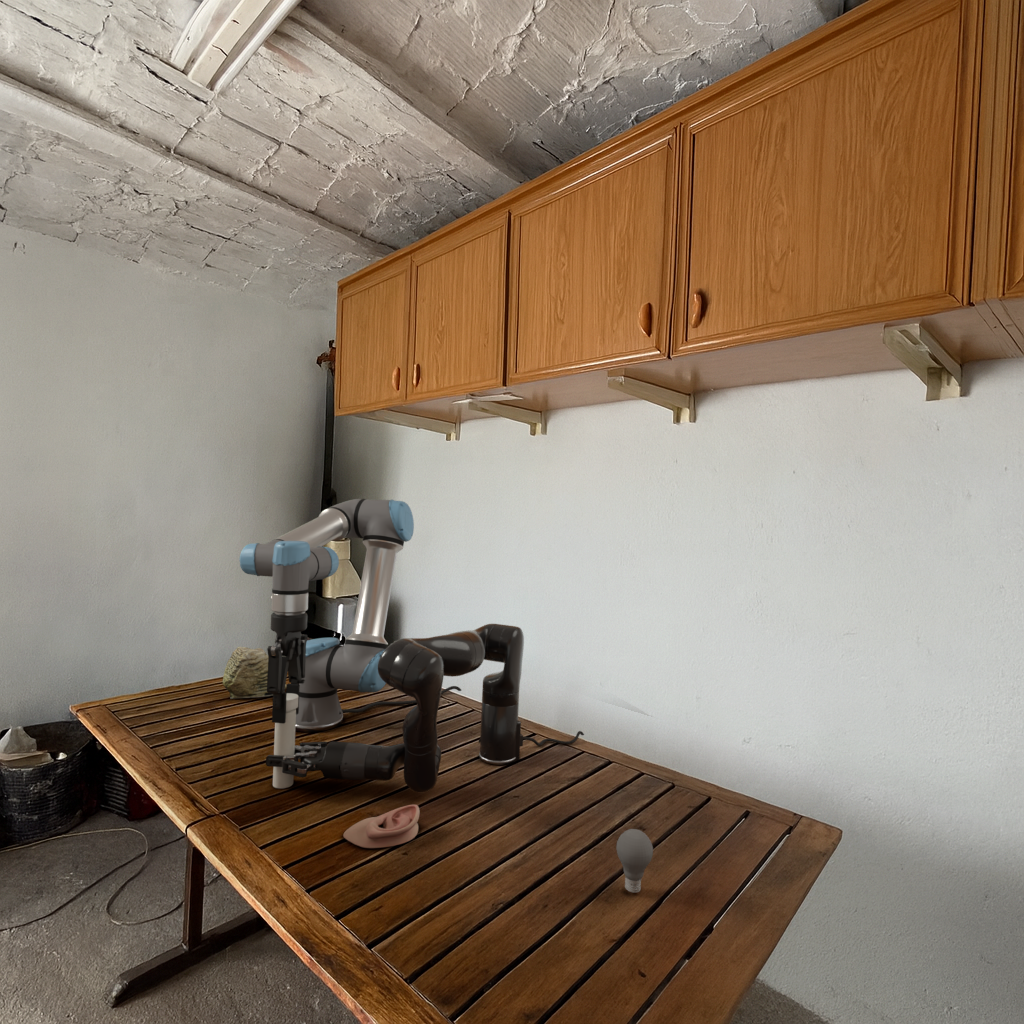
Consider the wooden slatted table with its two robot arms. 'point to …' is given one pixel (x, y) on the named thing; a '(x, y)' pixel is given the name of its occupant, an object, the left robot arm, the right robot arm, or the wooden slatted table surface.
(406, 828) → the anatomical model
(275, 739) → the off-white cylindrical rod
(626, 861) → the light bulb
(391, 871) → the wooden slatted table surface
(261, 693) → the fossil
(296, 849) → the wooden slatted table surface
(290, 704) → the lid
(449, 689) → the left robot arm
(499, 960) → the wooden slatted table surface
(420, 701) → the right robot arm
